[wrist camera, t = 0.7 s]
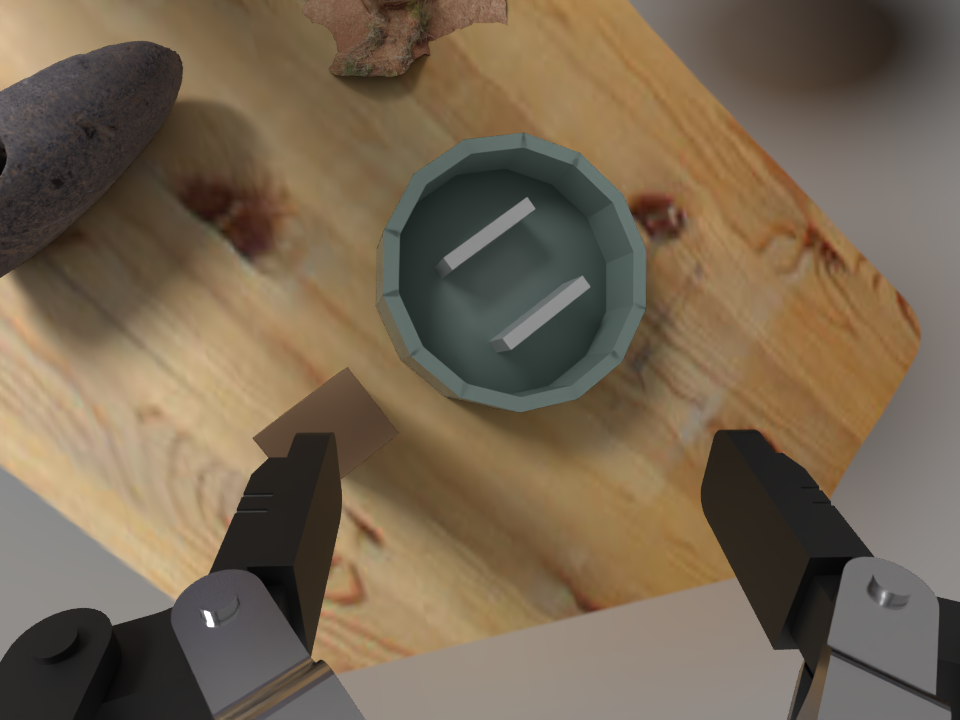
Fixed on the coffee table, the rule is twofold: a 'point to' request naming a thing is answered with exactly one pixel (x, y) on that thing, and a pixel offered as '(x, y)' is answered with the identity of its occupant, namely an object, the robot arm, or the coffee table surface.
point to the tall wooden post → (333, 422)
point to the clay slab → (394, 29)
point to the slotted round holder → (511, 273)
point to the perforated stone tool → (76, 137)
